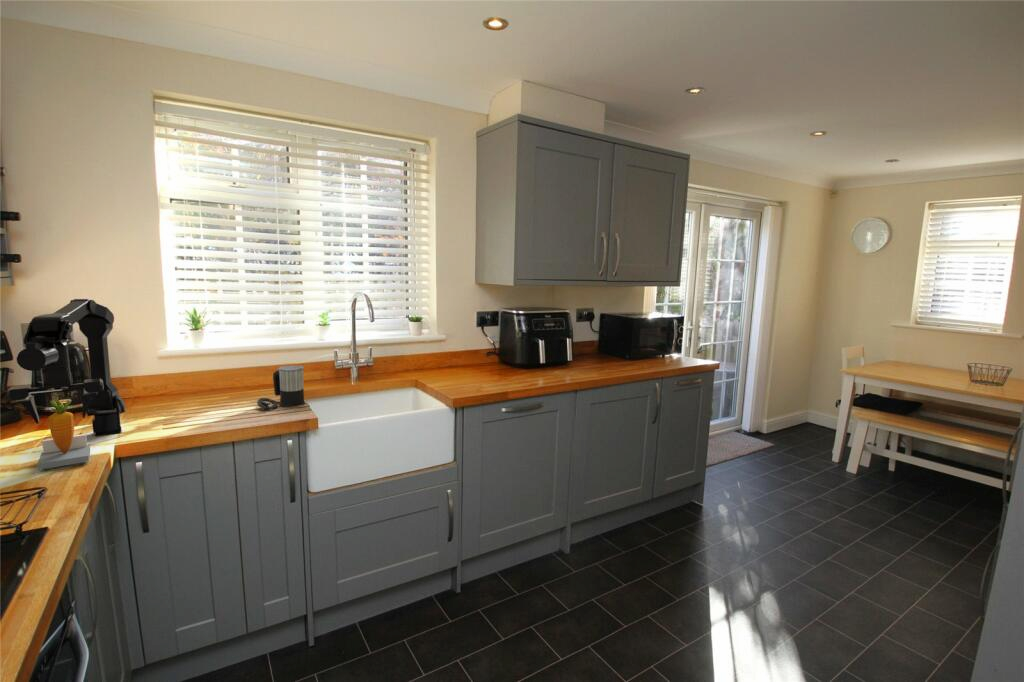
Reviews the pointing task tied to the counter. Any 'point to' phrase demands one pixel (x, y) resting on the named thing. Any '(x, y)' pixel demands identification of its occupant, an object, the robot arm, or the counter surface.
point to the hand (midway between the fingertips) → (61, 420)
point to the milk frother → (286, 388)
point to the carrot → (61, 426)
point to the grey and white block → (56, 458)
